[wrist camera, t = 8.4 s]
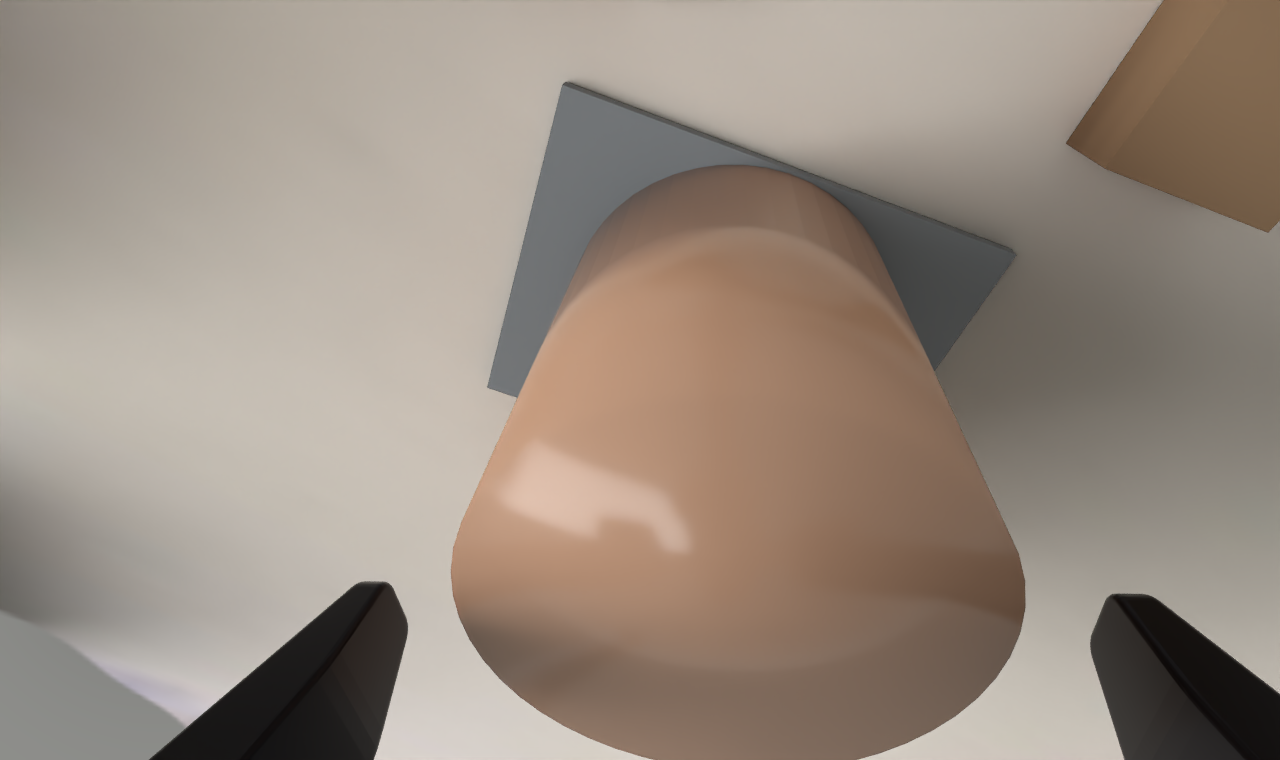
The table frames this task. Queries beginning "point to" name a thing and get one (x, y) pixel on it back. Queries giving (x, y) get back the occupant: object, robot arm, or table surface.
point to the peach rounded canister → (737, 494)
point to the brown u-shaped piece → (1197, 108)
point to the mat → (657, 148)
